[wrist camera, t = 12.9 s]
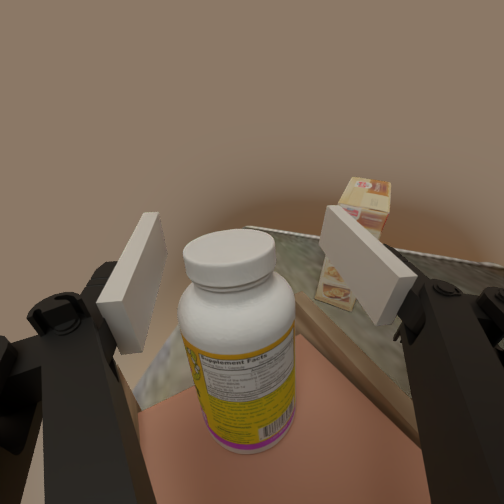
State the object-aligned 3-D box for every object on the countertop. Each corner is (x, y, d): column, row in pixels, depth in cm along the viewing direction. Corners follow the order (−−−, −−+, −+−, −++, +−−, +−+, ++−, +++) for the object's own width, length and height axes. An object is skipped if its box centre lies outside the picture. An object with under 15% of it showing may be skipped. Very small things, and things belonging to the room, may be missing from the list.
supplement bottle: (218, 364, 21) (192, 224, 16) (295, 369, 20) (294, 221, 15) (189, 454, 15) (131, 274, 10) (297, 468, 14) (297, 275, 9)
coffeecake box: (352, 313, 42) (391, 212, 31) (312, 299, 45) (335, 201, 34) (361, 267, 53) (392, 181, 42) (329, 258, 56) (351, 175, 45)
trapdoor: (300, 341, 24) (300, 333, 24) (509, 550, 11) (517, 542, 11) (141, 421, 18) (137, 413, 17) (203, 1073, 5) (196, 1096, 5)
